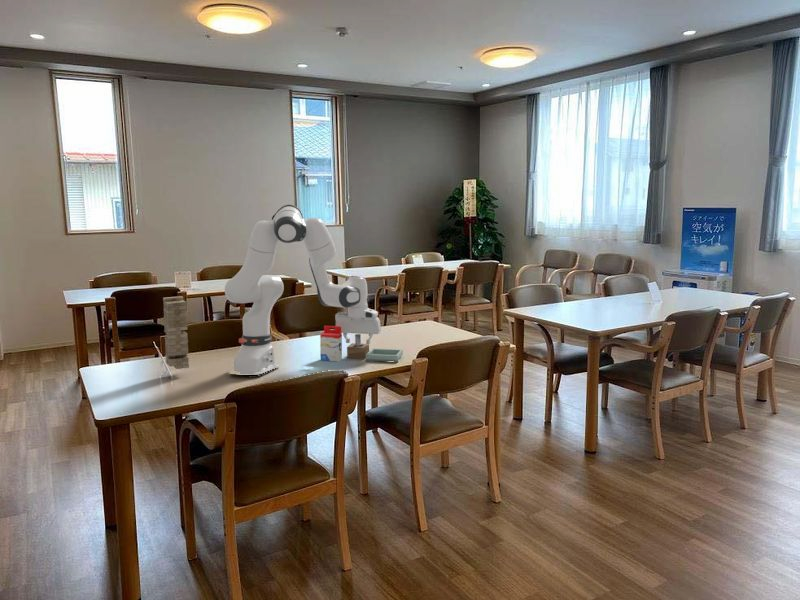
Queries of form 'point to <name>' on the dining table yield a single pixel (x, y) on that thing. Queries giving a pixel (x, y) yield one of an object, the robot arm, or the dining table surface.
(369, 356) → the tray
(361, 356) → the brown wooden box
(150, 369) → the dining table surface
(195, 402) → the dining table surface
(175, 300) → the tower
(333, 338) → the ink box
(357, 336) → the pin gauge
